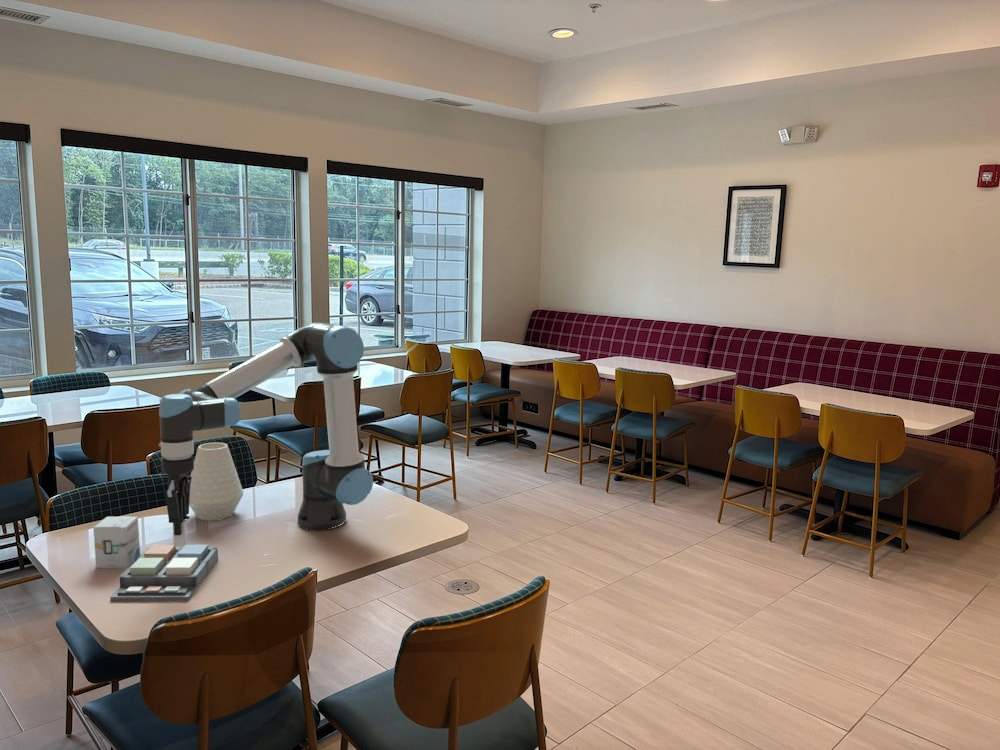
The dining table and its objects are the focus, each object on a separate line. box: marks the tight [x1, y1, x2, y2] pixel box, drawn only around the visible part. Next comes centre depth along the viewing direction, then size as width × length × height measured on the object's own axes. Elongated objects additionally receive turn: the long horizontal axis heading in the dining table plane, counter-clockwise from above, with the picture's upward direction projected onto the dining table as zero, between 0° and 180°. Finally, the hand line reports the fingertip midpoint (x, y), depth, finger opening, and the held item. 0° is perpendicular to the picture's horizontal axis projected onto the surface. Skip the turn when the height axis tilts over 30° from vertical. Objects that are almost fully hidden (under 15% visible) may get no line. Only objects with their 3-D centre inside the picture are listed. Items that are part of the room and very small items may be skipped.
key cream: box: [166, 558, 198, 575], centre depth 187 cm, size 6×6×2 cm
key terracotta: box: [143, 544, 177, 561], centre depth 195 cm, size 6×6×2 cm
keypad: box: [109, 547, 219, 602], centre depth 189 cm, size 18×24×4 cm
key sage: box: [129, 557, 164, 575], centre depth 186 cm, size 6×6×2 cm
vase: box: [189, 442, 244, 522], centre depth 233 cm, size 18×17×23 cm
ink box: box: [93, 515, 141, 569], centre depth 197 cm, size 9×8×12 cm
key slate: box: [178, 544, 209, 561], centre depth 195 cm, size 6×6×2 cm
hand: (180, 545), depth 186 cm, fingers closed
